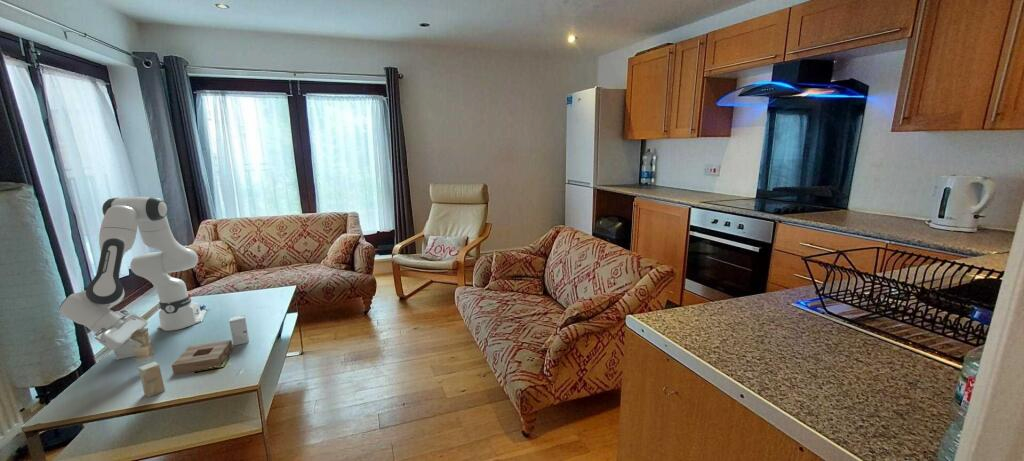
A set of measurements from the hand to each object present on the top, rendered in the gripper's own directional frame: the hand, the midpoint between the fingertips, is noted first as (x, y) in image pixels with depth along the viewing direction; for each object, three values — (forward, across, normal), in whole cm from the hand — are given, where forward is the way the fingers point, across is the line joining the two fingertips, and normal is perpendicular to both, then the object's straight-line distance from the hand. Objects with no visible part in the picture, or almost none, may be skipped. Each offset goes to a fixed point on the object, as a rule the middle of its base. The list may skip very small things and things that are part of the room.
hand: (145, 342), depth 166 cm
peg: (+4, 0, +6) cm, 7 cm away
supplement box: (-2, +18, +20) cm, 27 cm away
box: (+16, -20, +1) cm, 26 cm away
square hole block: (+22, 0, -5) cm, 22 cm away
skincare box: (+29, +13, -12) cm, 34 cm away
